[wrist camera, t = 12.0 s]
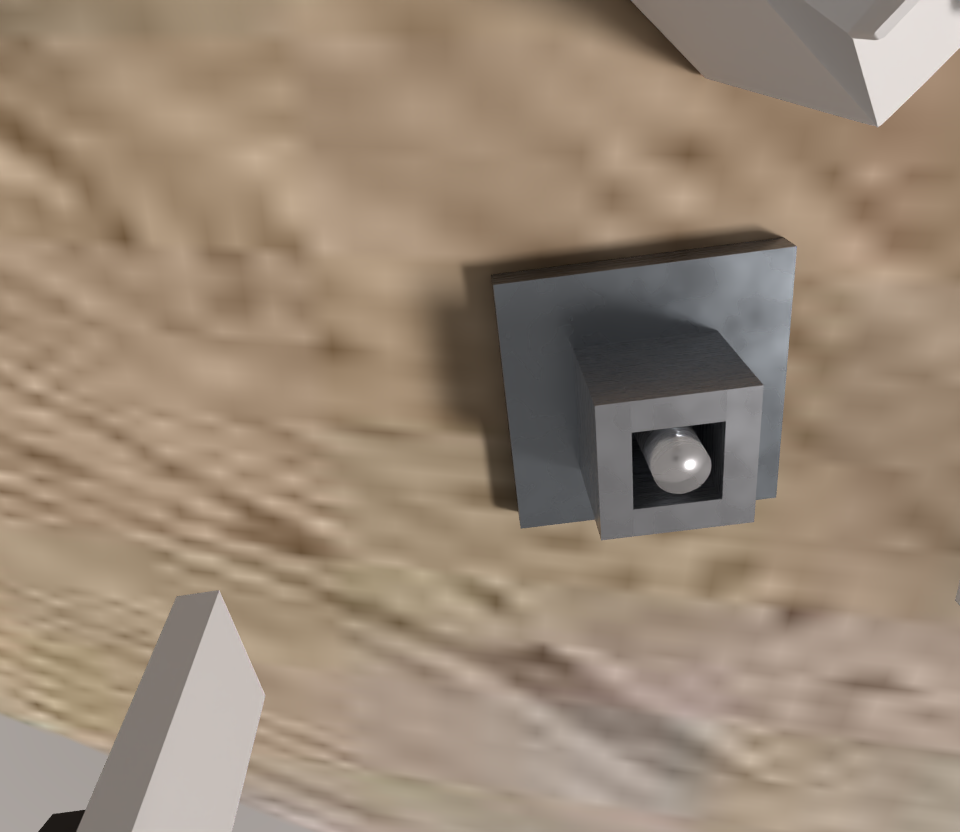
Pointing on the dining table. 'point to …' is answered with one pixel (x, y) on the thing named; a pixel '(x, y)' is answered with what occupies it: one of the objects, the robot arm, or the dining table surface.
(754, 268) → the shaft stand
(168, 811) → the robot arm
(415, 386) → the dining table surface
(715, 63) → the milk carton
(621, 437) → the grey square sleeve
